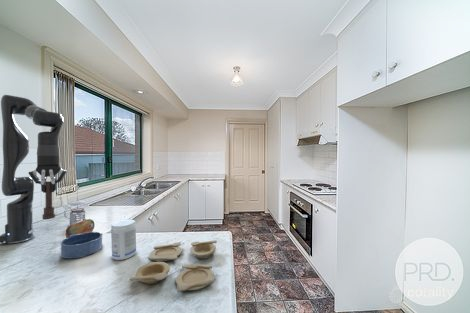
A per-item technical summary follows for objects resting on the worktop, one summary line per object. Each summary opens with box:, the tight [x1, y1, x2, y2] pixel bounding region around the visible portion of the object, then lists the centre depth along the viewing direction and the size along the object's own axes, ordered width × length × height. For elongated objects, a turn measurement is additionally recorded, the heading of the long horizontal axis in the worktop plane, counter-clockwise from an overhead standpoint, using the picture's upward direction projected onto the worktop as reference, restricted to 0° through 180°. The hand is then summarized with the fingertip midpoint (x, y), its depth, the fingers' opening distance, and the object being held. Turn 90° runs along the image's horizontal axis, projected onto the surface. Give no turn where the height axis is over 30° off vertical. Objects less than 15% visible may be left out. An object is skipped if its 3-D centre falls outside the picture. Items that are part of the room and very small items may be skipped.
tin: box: [64, 218, 95, 239], centre depth 110 cm, size 15×3×8 cm, turn 168°
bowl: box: [60, 231, 103, 259], centre depth 94 cm, size 15×15×6 cm
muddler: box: [42, 180, 56, 220], centre depth 93 cm, size 4×4×17 cm
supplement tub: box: [110, 218, 137, 261], centre depth 90 cm, size 10×10×15 cm
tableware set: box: [129, 239, 218, 293], centre depth 81 cm, size 35×29×4 cm
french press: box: [63, 185, 86, 226], centre depth 128 cm, size 10×12×25 cm
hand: (48, 192), depth 93 cm, fingers closed on muddler, 2 cm apart
